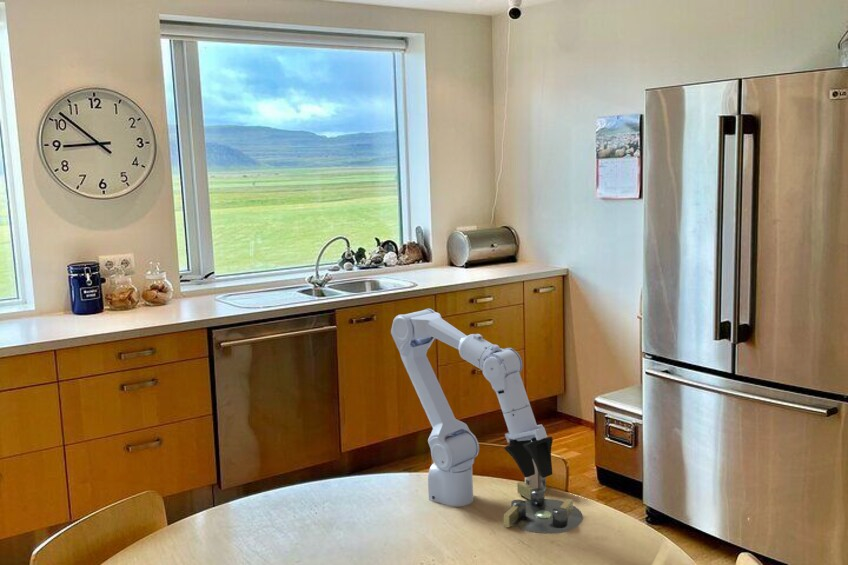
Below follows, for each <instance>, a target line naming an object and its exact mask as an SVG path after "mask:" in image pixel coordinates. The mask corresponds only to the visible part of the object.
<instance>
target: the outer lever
mask: <svg viewBox="0 0 848 565" xmlns="http://www.w3.org/2000/svg"><path fill="white" fill-rule="evenodd" d="M563 502H564V503H563V504H562V505H561V507H560V508H554V509H553V510H552V518H553V525H554V526H556V527H566V526H567V525H568V516H569V515H570V514H571V512H572V511H573V506H574V500H573V499H570V498H566V500H564V501H563Z"/></svg>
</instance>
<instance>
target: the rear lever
mask: <svg viewBox="0 0 848 565" xmlns="http://www.w3.org/2000/svg"><path fill="white" fill-rule="evenodd" d="M516 487H517V494H518V495H521V496H523V497H524V498H526V500H530V502H531V505H532V506H536V507H540V506H543V505H544V504H545V499H546V498H545V491H544V490H543V489H539V488H533V487H531V486H529V485H527V484H526V483H525V481H524V482H523V481H518V482H517V486H516Z"/></svg>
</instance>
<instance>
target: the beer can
mask: <svg viewBox="0 0 848 565" xmlns="http://www.w3.org/2000/svg"><path fill="white" fill-rule="evenodd" d="M531 442H532V440H531ZM532 460H533V458H532ZM533 464H534V469H535V474H534V475H532V476H529V477H525V476H524V483H526V484H527V485H529V486H531V487H533V488H539V489H543V490H544V492H546V489H547V486H546V484H547V482H546V480H547V479H546V478H547V477H544V478H542V477H541V475H540V473H539V471H538V469H537V467H536V464H535V462H534V460H533Z"/></svg>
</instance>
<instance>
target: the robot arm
mask: <svg viewBox="0 0 848 565" xmlns="http://www.w3.org/2000/svg"><path fill="white" fill-rule="evenodd" d="M390 334H391V336H392V340H393V341H394V343H395V346H396V348H397V349H398V352H399V355H400V359H401V361H402V363H403V366H404V369H405V370H406V372H407V375H408V376H409V379H410V381H411V383H412V386H413V387H414V389H415V392H416V394H417V397H418V398H419V401H420V403H421V406H422V408H423V410H424V412H425V415H426V416H427V419H428V421H429V423H430V425H431V427H432V430H431V433H430V434H429V437H428V439H427V442H428V446H429V448H430V455H431V459H432V461H433V463H432V464H431V465H430V467H429V470H428V474H427V487H428V488H427V489H428V490H427V491H428V492H427V493H428V501H432V502H435V503H440V504H443V505H445V506H449V507H464V506H468V505H470V504H471V503H473V501H474V484H473V482H474V481H473V476H474V475H473V464H475V458H476V457H477V456H478V455H479V452H480V443H479V440H478V439H477V437H476V435H475V434H474V433H473V432H472V431H471V430H470V428H469V426H468V425H467V423H465V422H463V421H461V420H459V419H456V417H455V415H454V412H453V409H452V408H451V406H450V404H449V402H448V399H447V397H446V395H445V393H444V391H443V389H442V386H441V384H440V382H439V380H438V378H437V375H436V373H435V372H434V369H433V367H432V365H431V362H430V361H429V358H428V356H427V353H428V350H429V349H430V347H431V346H432V344H433V342H434V341H435V340H438V341H440V342H442V343H444V344H446V345H448V346H450V347H452V348H454V349H456V350H458V353H459V356H460V358H461V359H463V360H464V361H466V362H468V363H470V364H471V365H473V366H474V367H476V368H478V369H479V370H481V371H482V375H483V376H484V378H485V379H486V381H488V382H489V383H490V386H491V388H492V390H493V391H494V392H495V394H496V397H497V399H498V403H499V406H500V409H501V412H502V415H503V418H504V422H505V424H506V427H507V428H506V429H507V431H508V432H506V433H504V436H505V439H506V442H507V444H508V445H506V446H504V451H506V453H507V454H509V455H510V456H511V457H512V459H513V460H514V461H515V463H516V464H517V467H518V468H519V470H520V472H521V474H523V476H524V478H525V477H529V476H532V475H534V474H535V469H534V464H533V460H534V462H535V464H536V467H537V469H538V471H539V473H540V475H541V477H542V478H544V477H546V478H547V477H550V476H552V475H553V465H552V464H553V463H552V445H553V441H554V440H553V437H552V436H548V435H547V431H546V428H545V427H544V426H543V424H537V422H536V421H537V420H536V418H535V415H534V412H533V409H532V406H531V404H530V400H529V398H528V395H527V392H526V388H525V386H524V381H523V379H522V376H521V372H522V370H523V361H522V357H521V356H520V354H519V352H517V351H516V350H515V349H514V348H512V347H506V348H501V347H500V346H499V345H498V344H493V343H491V342H490V341H488V340H486V339H485V338H483V335H481V334H480V333H471V334H469V335H466V334H465V333H464V332H462V331H461V330H459V329H458V328H456V327H455V326H454V325H452V324H450V323H449V322H448V321H446V320H444V319H443V318H442V315H441V313H439V312H436V311H435V310H433V309H432V308H425V309H423V310H418V311H414V312H410V313H405V314H398V315H396V316H395V317H394V318H393V321H392V325H391V329H390ZM531 440H532V442H531ZM532 458H533V460H532Z"/></svg>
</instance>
